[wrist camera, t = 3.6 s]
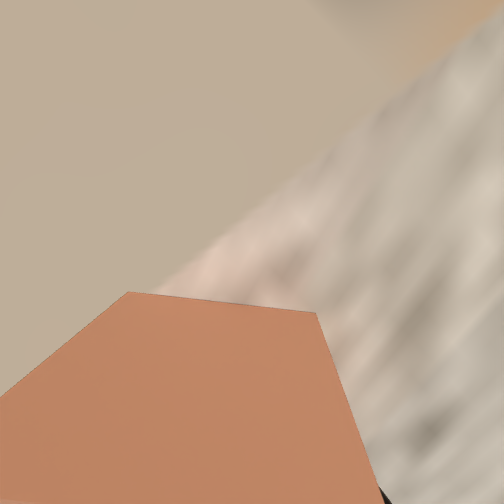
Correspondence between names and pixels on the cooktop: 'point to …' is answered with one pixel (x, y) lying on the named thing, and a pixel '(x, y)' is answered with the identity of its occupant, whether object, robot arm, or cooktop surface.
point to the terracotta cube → (185, 412)
